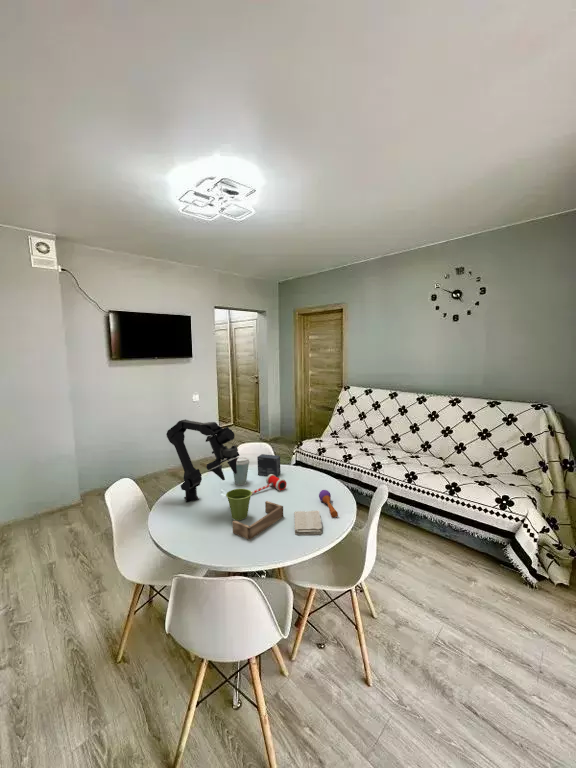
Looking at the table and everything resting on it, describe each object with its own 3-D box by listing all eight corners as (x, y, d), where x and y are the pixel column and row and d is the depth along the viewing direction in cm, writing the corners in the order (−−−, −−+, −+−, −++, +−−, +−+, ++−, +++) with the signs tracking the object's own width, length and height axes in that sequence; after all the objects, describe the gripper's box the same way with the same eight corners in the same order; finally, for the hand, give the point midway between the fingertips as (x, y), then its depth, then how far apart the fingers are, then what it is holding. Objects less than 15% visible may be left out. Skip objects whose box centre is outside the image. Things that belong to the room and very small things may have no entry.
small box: (281, 474, 204) (280, 455, 203) (276, 477, 198) (276, 458, 196) (262, 471, 209) (261, 453, 208) (257, 475, 202) (256, 456, 201)
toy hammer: (251, 501, 167) (251, 489, 167) (240, 493, 177) (240, 482, 176) (287, 489, 181) (286, 478, 180) (275, 483, 190) (274, 472, 190)
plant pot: (253, 521, 146) (253, 497, 145) (227, 524, 143) (226, 500, 142) (251, 509, 157) (250, 487, 156) (226, 512, 155) (225, 489, 154)
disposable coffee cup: (229, 481, 193) (228, 457, 192) (247, 478, 197) (246, 454, 196) (234, 488, 183) (233, 462, 182) (252, 484, 188) (251, 459, 186)
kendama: (327, 510, 147) (316, 489, 166) (329, 521, 148) (318, 499, 168) (339, 506, 148) (327, 486, 167) (341, 518, 149) (329, 496, 168)
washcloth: (294, 536, 134) (294, 529, 134) (293, 515, 152) (293, 508, 151) (323, 536, 134) (323, 528, 134) (318, 514, 152) (318, 508, 152)
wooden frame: (232, 532, 137) (232, 521, 136) (267, 511, 155) (266, 501, 155) (249, 540, 131) (249, 528, 131) (283, 516, 150) (283, 506, 149)
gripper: (216, 446, 147) (229, 478, 145) (241, 436, 163) (253, 465, 161) (200, 454, 152) (212, 485, 150) (225, 444, 168) (237, 472, 166)
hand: (230, 476), depth 157 cm, fingers open, 9 cm apart
